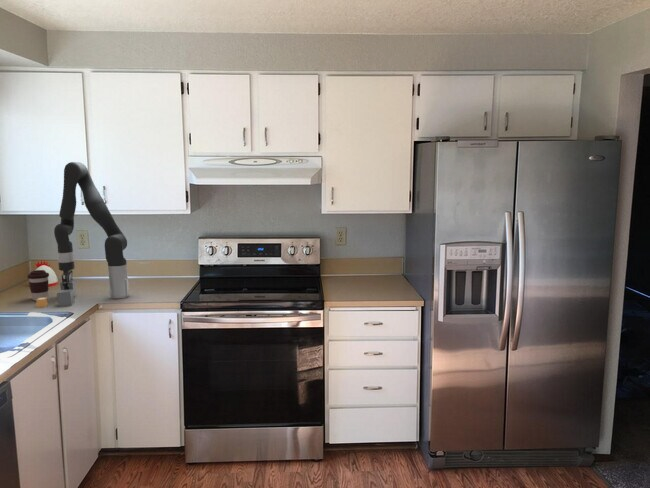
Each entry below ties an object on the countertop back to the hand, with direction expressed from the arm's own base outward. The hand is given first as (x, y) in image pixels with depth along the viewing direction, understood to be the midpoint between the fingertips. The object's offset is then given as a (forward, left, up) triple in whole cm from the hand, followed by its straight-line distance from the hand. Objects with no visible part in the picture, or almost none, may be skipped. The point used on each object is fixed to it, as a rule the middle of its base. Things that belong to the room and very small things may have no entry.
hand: (68, 291), depth 281 cm
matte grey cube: (-2, +16, -3) cm, 17 cm away
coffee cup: (+14, 0, -3) cm, 14 cm away
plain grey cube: (0, 0, -2) cm, 2 cm away
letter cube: (+9, +16, -3) cm, 19 cm away
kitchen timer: (+21, -37, -3) cm, 43 cm away
